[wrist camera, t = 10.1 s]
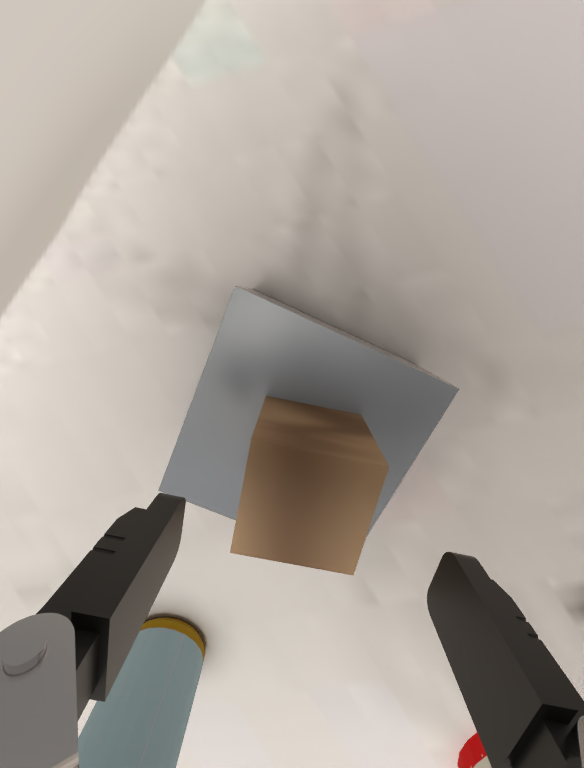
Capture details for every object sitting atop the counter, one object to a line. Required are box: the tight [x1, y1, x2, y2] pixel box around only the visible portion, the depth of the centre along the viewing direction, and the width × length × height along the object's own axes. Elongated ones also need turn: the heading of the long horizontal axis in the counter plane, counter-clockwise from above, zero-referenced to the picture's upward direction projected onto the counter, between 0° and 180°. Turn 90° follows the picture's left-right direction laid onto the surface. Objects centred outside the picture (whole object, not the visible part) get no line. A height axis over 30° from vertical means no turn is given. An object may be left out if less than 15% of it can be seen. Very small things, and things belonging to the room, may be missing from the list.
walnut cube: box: [230, 396, 389, 575], centre depth 14 cm, size 5×5×5 cm
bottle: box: [78, 617, 205, 768], centre depth 21 cm, size 7×7×15 cm
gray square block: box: [158, 286, 459, 537], centre depth 19 cm, size 12×12×6 cm
